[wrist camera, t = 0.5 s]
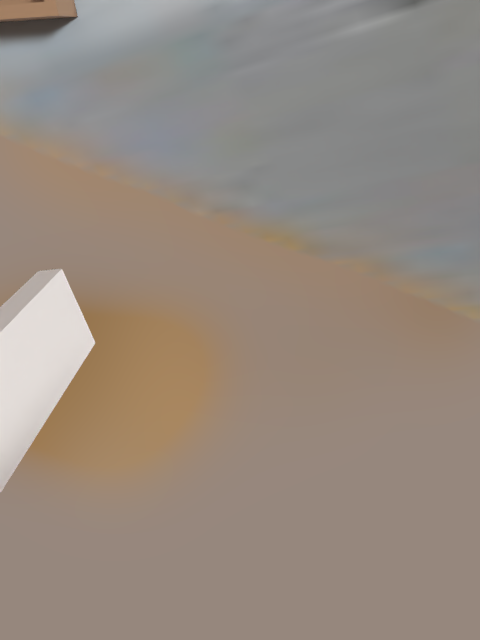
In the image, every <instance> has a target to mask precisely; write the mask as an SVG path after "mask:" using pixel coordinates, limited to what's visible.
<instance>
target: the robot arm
mask: <svg viewBox="0 0 480 640" xmlns="http://www.w3.org/2000/svg"><path fill="white" fill-rule="evenodd" d="M94 344H95V341H94V339H93V337H92V334H91V332H90V330H89V328H88V325H87V323H86V321H85V319H84V317H83V314H82V312H81V310H80V308H79V305H78V303H77V301H76V299H75V297H74V294H73V292H72V290H71V288H70V286H69V283H68V281H67V279H66V277H65V275H64V272H63V270H62V269H54V270H44V271H38V272H37V273H36V274H35V275H34V276H33V277H32V278H30V279H29V280H28V281H27V282H26V283H25V284H24V285H23V286H22V287H21V288H20V289H19V290H18V291H17V292H16V293H15V294H14V295H13V296H12V297H10V298H9V299H8V300H7V301H6V302H5V303H4V304H3V305H2V306H1V307H0V492H1V491H2V489H3V488H4V486H5V484H6V483H7V481H8V480H9V478H10V477H11V475H12V474H13V472H14V470H15V468H16V467H17V466H18V464H19V462H20V461H21V459H22V458H23V456H24V455H25V453H26V451H27V450H28V448H29V447H30V445H31V443H32V442H33V440H34V439H35V437H36V435H37V434H38V432H39V431H40V429H41V428H42V426H43V424H44V423H45V421H46V420H47V418H48V417H49V415H50V414H51V412H52V410H53V409H54V407H55V406H56V404H57V403H58V401H59V399H60V398H61V396H62V394H63V393H64V391H65V390H66V388H67V387H68V385H69V384H70V382H71V380H72V379H73V377H74V376H75V374H76V373H77V371H78V369H79V368H80V366H81V365H82V363H83V361H84V360H85V358H86V357H87V355H88V354H89V352H90V350H91V349H92V347H93V346H94Z"/></svg>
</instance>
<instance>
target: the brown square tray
mask: <svg viewBox="0 0 480 640" xmlns="http://www.w3.org/2000/svg"><path fill="white" fill-rule="evenodd" d="M69 17H78V16H77V12H76V7H75V3H74V0H0V22H9V21H24V20H39V19H54V18H69Z"/></svg>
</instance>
